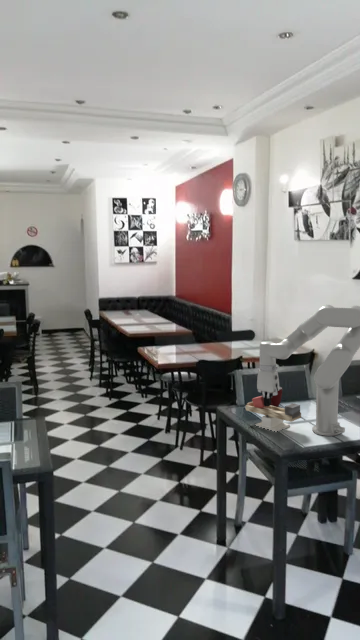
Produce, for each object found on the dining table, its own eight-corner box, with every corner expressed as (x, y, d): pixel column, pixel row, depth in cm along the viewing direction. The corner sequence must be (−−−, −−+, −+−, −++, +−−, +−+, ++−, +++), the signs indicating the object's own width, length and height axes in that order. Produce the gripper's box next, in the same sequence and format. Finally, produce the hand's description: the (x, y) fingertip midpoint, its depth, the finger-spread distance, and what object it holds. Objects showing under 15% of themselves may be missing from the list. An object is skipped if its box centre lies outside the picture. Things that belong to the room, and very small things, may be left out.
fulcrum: (289, 426, 242) (290, 415, 241) (276, 432, 234) (276, 420, 234) (269, 420, 251) (269, 410, 250) (255, 426, 243) (255, 415, 242)
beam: (301, 418, 236) (302, 404, 235) (290, 423, 229) (290, 408, 229) (256, 407, 254) (256, 394, 253) (244, 411, 248) (244, 398, 247)
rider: (269, 405, 246) (266, 394, 247) (263, 407, 242) (260, 397, 243) (260, 406, 249) (257, 396, 250) (254, 409, 246) (252, 398, 246)
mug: (278, 410, 267) (278, 391, 266) (263, 408, 270) (263, 390, 269) (283, 405, 276) (283, 386, 275) (269, 403, 280) (269, 385, 278)
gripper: (285, 368, 238) (285, 407, 241) (259, 364, 249) (259, 401, 251) (276, 371, 233) (276, 410, 235) (250, 366, 244) (250, 404, 246)
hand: (267, 405), depth 243 cm, fingers closed
